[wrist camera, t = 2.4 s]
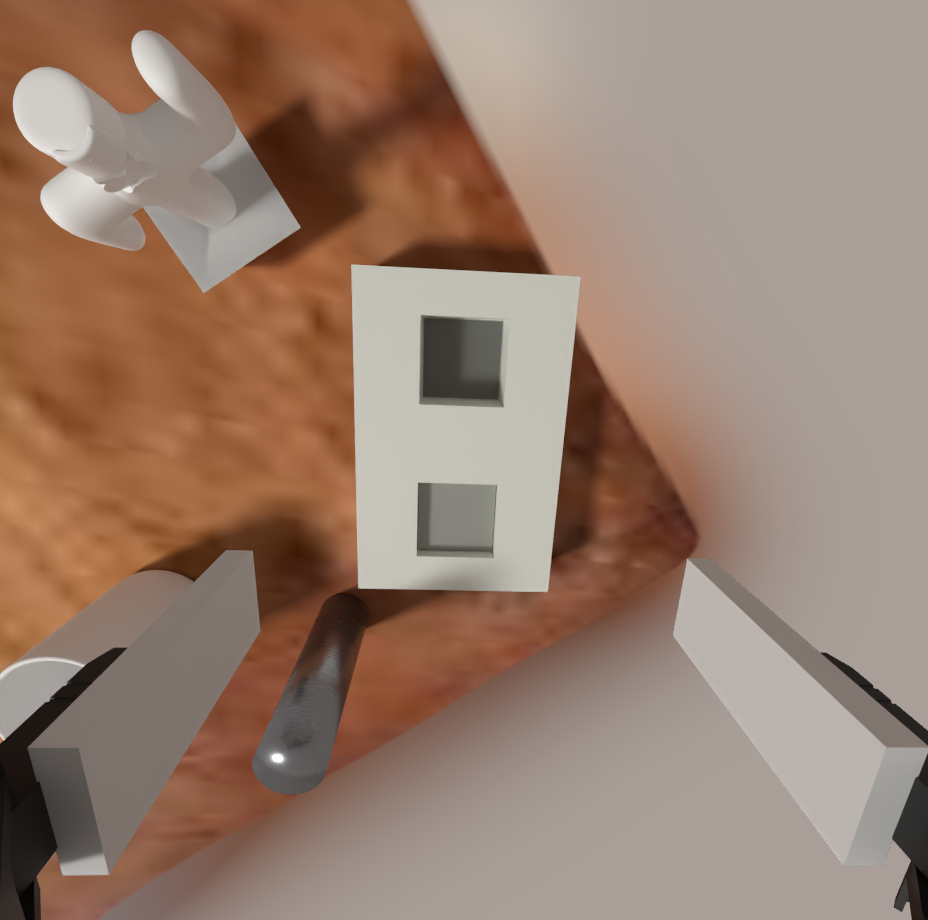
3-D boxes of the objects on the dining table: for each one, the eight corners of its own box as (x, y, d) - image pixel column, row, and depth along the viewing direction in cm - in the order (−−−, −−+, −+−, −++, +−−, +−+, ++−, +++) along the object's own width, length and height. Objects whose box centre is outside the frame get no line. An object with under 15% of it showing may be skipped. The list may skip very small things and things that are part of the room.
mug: (58, 616, 38) (-88, 724, 27) (173, 547, 36) (65, 633, 26) (130, 689, 40) (20, 814, 30) (241, 626, 39) (166, 734, 28)
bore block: (363, 272, 31) (351, 264, 28) (564, 282, 32) (580, 276, 28) (367, 561, 37) (358, 588, 34) (537, 565, 38) (547, 592, 34)
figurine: (146, 204, 30) (-135, 87, 15) (264, 120, 29) (81, -89, 14) (218, 305, 32) (26, 285, 17) (331, 230, 31) (228, 141, 16)
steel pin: (319, 593, 38) (249, 737, 25) (367, 594, 38) (325, 737, 25) (321, 634, 39) (255, 794, 26) (368, 635, 39) (327, 794, 26)
